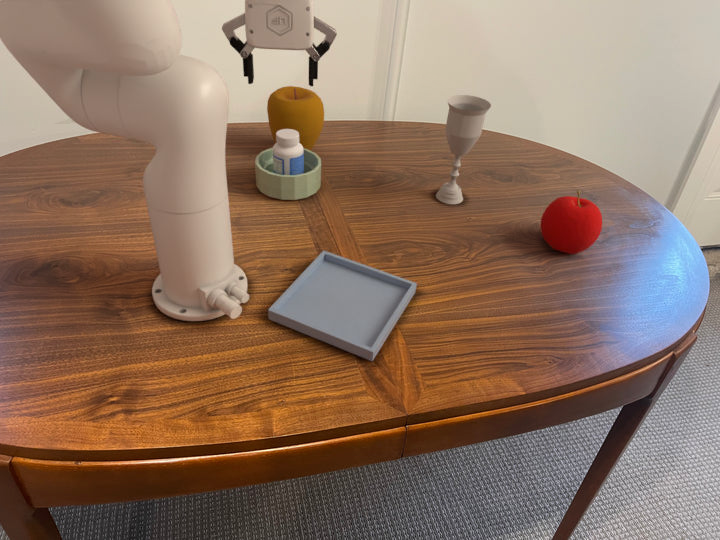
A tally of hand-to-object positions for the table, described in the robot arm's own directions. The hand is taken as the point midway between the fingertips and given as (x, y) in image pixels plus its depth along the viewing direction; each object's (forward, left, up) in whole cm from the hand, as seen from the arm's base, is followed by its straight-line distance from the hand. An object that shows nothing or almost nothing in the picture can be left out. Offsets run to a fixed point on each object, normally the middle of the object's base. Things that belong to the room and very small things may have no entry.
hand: (281, 82), depth 87 cm
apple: (+8, -11, -19) cm, 23 cm away
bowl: (-1, 0, -19) cm, 19 cm away
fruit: (-46, -20, -19) cm, 54 cm away
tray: (-30, +17, -19) cm, 39 cm away
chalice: (-24, -19, -19) cm, 36 cm away
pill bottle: (-1, 0, -19) cm, 19 cm away
